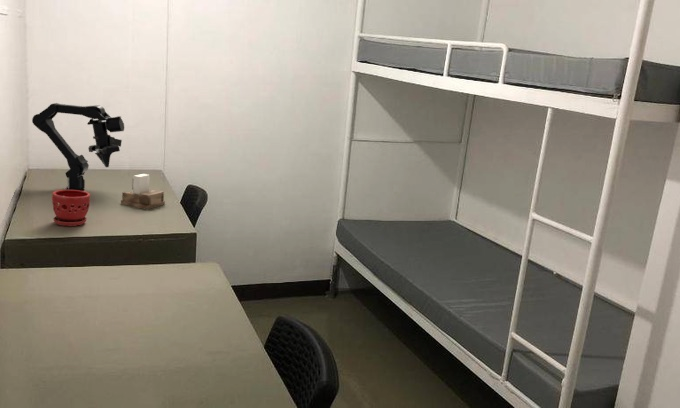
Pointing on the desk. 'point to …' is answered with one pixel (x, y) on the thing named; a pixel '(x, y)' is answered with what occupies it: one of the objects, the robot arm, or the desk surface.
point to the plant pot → (70, 207)
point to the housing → (143, 199)
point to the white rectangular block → (140, 183)
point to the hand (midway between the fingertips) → (107, 167)
